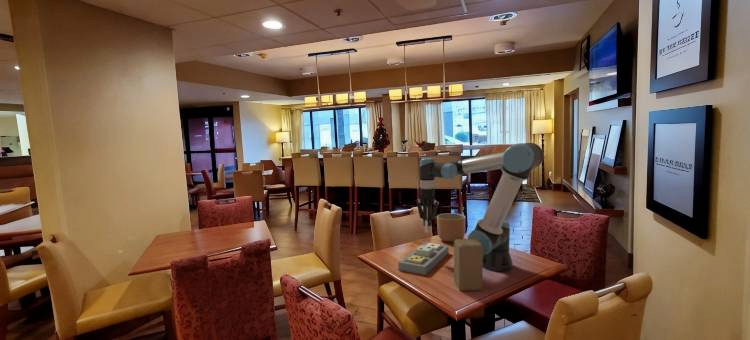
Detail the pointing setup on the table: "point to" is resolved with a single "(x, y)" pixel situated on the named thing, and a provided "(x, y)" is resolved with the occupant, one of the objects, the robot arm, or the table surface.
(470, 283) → the wooden block
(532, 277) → the table surface
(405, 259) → the tile board
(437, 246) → the tile one
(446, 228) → the planter
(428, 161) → the robot arm
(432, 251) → the tile two
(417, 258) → the tile three
